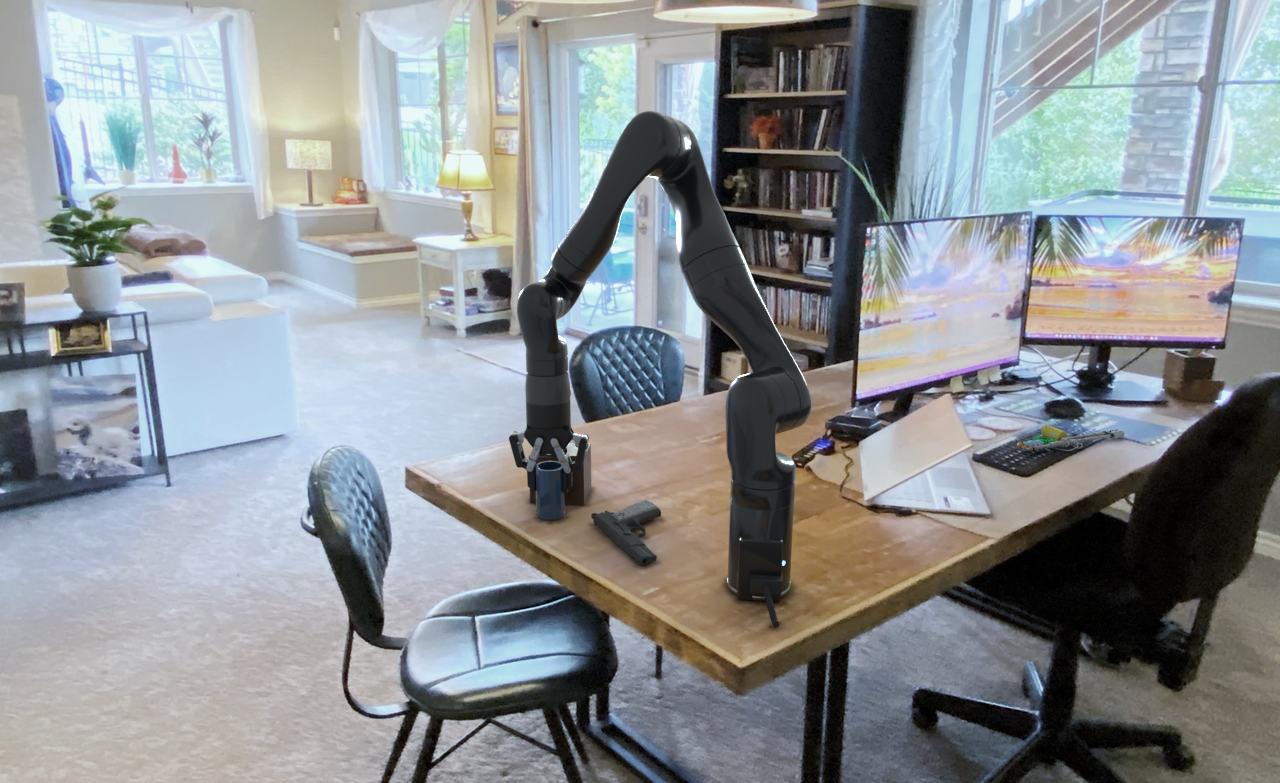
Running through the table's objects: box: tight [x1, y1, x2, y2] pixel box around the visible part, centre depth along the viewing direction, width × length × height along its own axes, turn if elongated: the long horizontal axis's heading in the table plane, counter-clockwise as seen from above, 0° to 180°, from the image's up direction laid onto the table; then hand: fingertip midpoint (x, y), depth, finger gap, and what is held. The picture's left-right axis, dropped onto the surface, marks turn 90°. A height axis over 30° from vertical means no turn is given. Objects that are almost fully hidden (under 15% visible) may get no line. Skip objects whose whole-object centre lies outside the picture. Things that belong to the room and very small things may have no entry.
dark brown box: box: [528, 441, 592, 506], centre depth 170 cm, size 8×10×9 cm
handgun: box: [590, 499, 662, 566], centre depth 154 cm, size 19×2×12 cm
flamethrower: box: [1016, 424, 1125, 452], centre depth 200 cm, size 29×3×10 cm
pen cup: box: [535, 461, 566, 521], centre depth 161 cm, size 5×5×9 cm
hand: (550, 490), depth 161 cm, fingers closed on pen cup, 5 cm apart
